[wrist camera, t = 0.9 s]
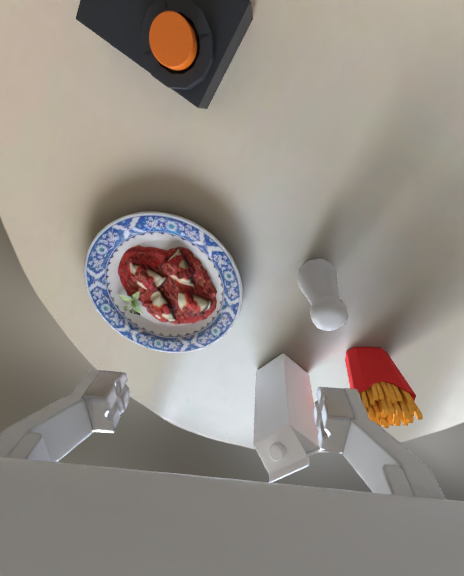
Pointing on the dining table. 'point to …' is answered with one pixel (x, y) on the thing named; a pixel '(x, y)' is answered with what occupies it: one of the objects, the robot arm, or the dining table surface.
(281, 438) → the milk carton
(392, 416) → the french fries
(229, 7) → the button base
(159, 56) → the orange push button
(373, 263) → the dining table surface
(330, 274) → the salt shaker
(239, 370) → the dining table surface
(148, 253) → the ceramic plate
